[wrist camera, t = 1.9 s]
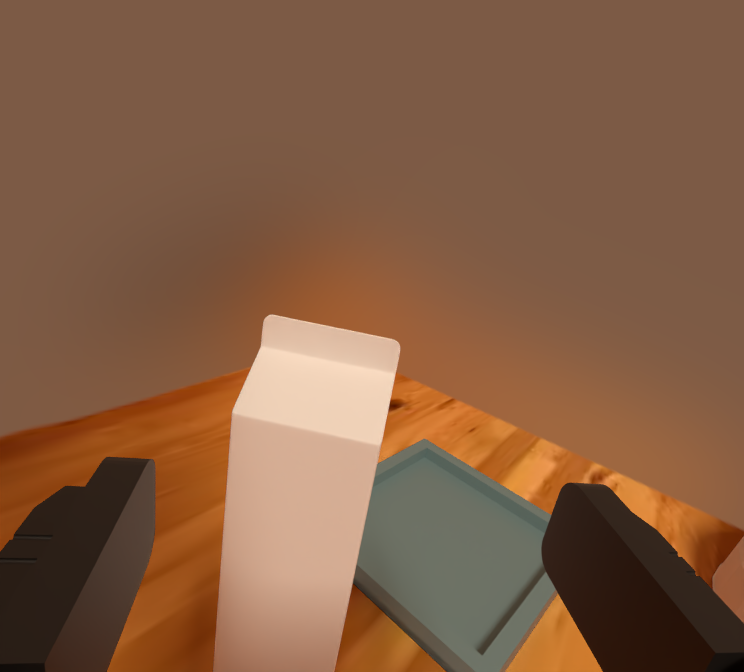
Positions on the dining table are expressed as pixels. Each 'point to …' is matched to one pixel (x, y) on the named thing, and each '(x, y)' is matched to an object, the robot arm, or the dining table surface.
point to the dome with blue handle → (732, 580)
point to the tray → (453, 559)
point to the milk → (299, 494)
